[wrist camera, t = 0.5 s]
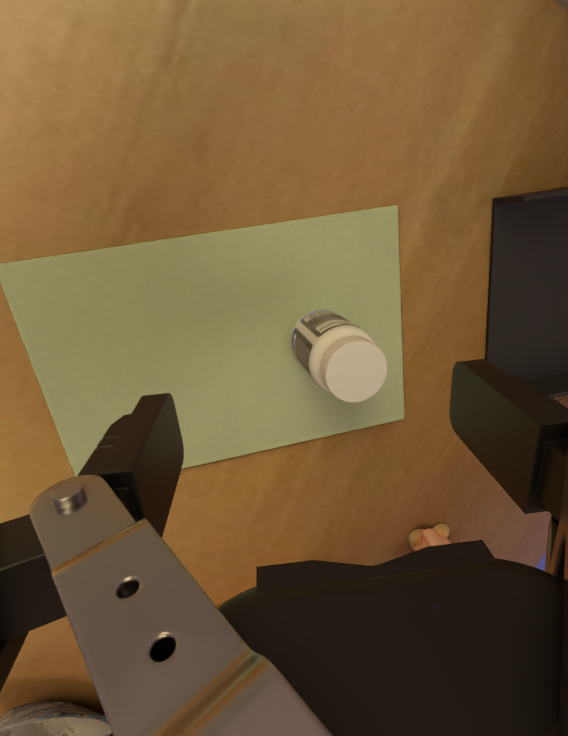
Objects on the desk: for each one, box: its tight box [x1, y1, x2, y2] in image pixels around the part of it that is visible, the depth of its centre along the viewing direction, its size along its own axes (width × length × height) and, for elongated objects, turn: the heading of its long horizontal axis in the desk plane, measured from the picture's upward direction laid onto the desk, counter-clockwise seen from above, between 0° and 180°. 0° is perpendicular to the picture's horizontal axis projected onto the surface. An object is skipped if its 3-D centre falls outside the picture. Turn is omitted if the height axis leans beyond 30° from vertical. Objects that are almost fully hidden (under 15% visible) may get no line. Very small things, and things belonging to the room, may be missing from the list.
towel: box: [0, 205, 404, 477], centre depth 31 cm, size 28×18×1 cm, turn 98°
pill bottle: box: [291, 309, 388, 403], centre depth 28 cm, size 5×5×8 cm
